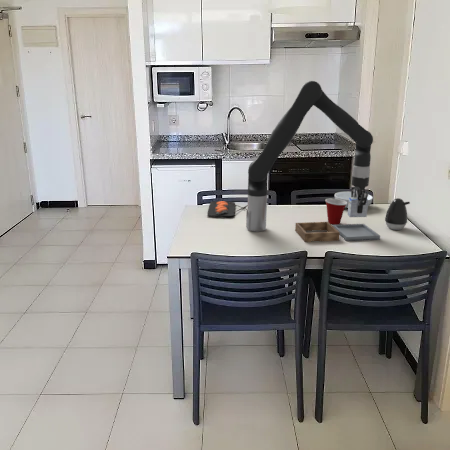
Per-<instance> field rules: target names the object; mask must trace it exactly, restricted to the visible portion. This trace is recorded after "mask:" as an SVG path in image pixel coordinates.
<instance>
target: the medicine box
mask: <svg viewBox="0 0 450 450" xmlns="http://www.w3.org/2000/svg"><path fill="white" fill-rule="evenodd" d="M359 199H361V198H359ZM368 207H369V206H368V199H367V201H366V205H363V210H362V213H357V208H358V200H357V197H349V203H348V209H347V215H348V217H349V218H367V217H368Z"/></svg>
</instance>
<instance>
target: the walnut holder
mask: <svg viewBox="0 0 450 450" xmlns="http://www.w3.org/2000/svg"><path fill="white" fill-rule="evenodd" d="M294 226H295V227H294V231H295V232H296V234H297V235H298V236H299V237H300V238H301V239H302V241H304V243H312V242H311V241H319V242H335V241H336V242H337V241H338V242H339V241H340V232H339V231H338V230H337V229H335V228H334V227H333V225H331V224H330V223H329V222H328V221H312V222H311V221H310V222H306V221H305V222H295V225H294ZM312 230H320V231H318V232H317V231H316V232H313V231H312ZM321 231H322V232H321ZM323 231H324V232H323ZM327 231H328V232H327Z"/></svg>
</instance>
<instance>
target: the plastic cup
mask: <svg viewBox="0 0 450 450" xmlns="http://www.w3.org/2000/svg"><path fill="white" fill-rule="evenodd" d="M325 204H326V214H327V222H329V223H330V224H332V226H333V225H341V220H342V217H343V214H344V212H345V206H346V204H347V202H346V201H344V200H340V199H335V198H334V197H333V198H325Z"/></svg>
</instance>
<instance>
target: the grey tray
mask: <svg viewBox="0 0 450 450" xmlns="http://www.w3.org/2000/svg"><path fill="white" fill-rule="evenodd" d="M332 226H333V227H334V228H335V229H337V230H338V231H339V232H340V235H339V237H341V238H342V239H343V238H344V239H343V240H344V241H345V242H357V241H358V242H359V241H361V242H362V241H380V239H381V235H380V234H378V233H377V232H376V231H375V230H373V229H372V228H370V227H369V226H368V225H366V223H352V224H351V223H348V224H347V223H346V224H345V223H343V224H339V225H332Z"/></svg>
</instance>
